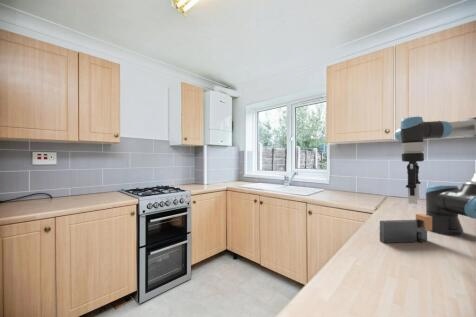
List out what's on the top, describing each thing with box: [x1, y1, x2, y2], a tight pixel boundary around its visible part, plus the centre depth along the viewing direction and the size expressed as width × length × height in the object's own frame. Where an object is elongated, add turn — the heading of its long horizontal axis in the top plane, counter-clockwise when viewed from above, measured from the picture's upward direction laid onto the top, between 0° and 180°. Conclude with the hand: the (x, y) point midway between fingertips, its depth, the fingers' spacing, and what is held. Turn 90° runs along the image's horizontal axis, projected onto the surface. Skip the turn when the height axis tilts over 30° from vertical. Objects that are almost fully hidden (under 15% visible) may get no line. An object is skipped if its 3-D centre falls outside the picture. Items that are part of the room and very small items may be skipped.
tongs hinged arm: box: [381, 220, 418, 244], centre depth 91 cm, size 15×1×9 cm, turn 94°
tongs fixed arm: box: [379, 219, 428, 244], centre depth 92 cm, size 22×3×9 cm, turn 95°
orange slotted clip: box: [415, 213, 432, 232], centre depth 93 cm, size 3×4×6 cm
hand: (414, 200), depth 92 cm, fingers open, 13 cm apart
